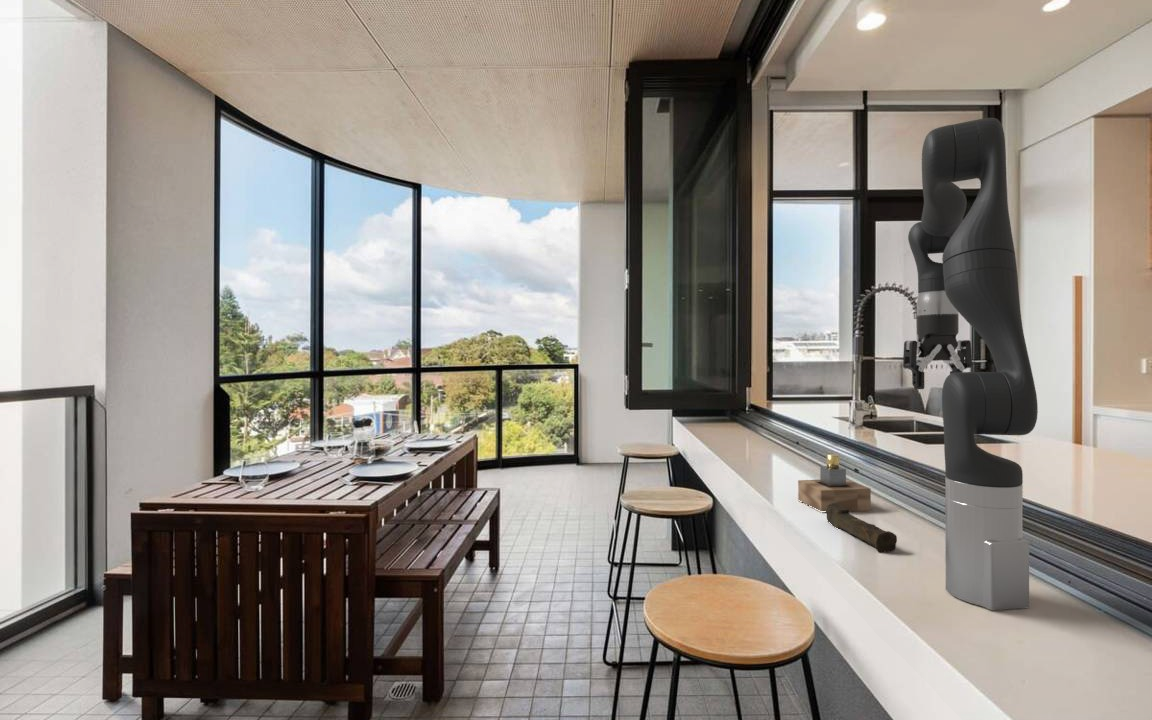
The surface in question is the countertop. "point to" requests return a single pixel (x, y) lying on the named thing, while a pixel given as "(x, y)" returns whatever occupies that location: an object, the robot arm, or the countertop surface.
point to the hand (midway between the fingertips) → (937, 388)
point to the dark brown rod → (861, 528)
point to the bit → (832, 473)
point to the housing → (834, 495)
